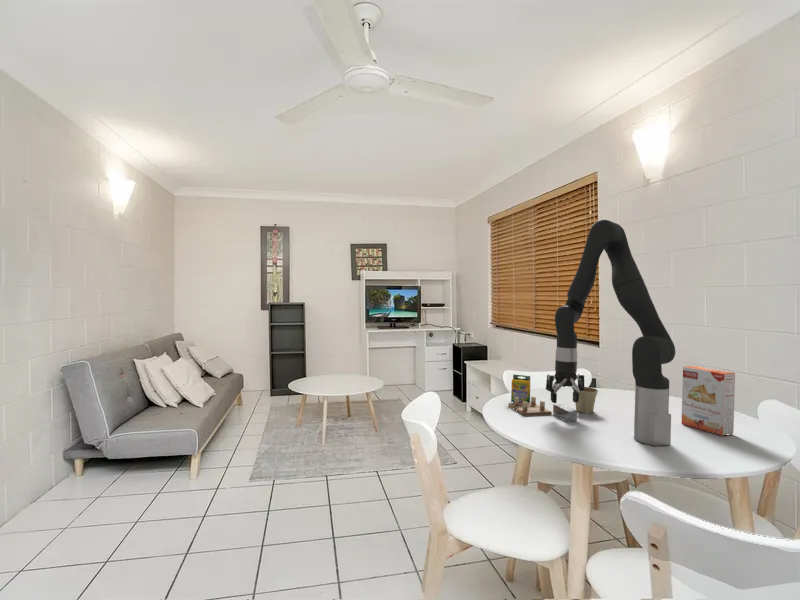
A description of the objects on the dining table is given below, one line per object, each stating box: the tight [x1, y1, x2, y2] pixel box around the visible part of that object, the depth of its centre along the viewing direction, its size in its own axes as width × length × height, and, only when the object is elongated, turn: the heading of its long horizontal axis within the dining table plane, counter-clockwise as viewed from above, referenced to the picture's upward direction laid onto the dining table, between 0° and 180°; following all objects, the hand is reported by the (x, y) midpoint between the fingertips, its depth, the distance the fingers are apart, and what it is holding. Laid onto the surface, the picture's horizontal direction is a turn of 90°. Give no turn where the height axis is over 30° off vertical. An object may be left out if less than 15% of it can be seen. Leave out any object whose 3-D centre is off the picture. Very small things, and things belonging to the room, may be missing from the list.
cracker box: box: [681, 365, 736, 436], centre depth 146 cm, size 14×6×21 cm, turn 21°
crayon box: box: [510, 374, 531, 403], centre depth 178 cm, size 7×3×12 cm, turn 64°
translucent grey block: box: [552, 403, 578, 423], centre depth 159 cm, size 10×4×4 cm, turn 11°
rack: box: [508, 396, 553, 416], centre depth 168 cm, size 14×11×4 cm
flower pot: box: [572, 386, 599, 414], centre depth 168 cm, size 9×9×9 cm
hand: (564, 402), depth 159 cm, fingers open, 8 cm apart
